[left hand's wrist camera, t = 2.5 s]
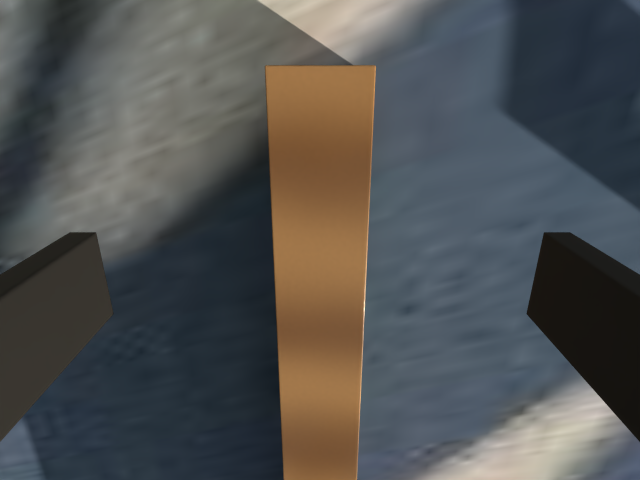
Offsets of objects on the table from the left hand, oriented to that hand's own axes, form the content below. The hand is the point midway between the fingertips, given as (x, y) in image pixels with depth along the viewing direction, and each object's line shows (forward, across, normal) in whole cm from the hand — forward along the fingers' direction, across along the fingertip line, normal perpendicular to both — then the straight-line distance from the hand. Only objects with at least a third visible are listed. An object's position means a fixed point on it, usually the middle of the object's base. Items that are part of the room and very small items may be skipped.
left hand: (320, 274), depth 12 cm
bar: (+16, 0, -28) cm, 32 cm away
